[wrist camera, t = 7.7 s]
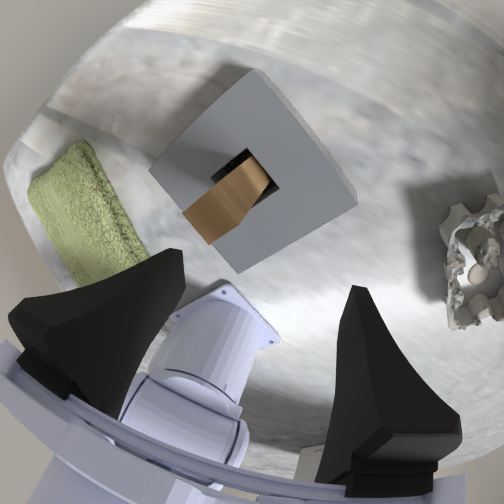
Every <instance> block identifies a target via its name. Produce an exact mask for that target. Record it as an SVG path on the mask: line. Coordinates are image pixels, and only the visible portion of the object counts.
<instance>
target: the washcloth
mask: <svg viewBox="0 0 504 504" xmlns="http://www.w3.org/2000/svg"><path fill="white" fill-rule="evenodd" d="M27 195H28V200H29V203H30V205H31V206H32V208H33V210H34V212H35V213H36V215H37V216H38V217H39V219H40V220H41V222H42V224H43V226H44V229H45V231H46V234H47V236H48V238H49V240H50V241H51V242H52V244H53V246H54V247H55V249H56V250H57V252H58V254H59V255H60V257H61V258H62V260H63V261H64V263H65V264H66V266H67V268H68V270H69V271H70V273H71V275H72V277H73V279H74V280H75V282H76V284H77V285H78V287H79V288H80V287H84V286H87V285H90V284H93V283H96V282H98V281H101V280H104V279H106V278H108V277H111V276H113V275H115V274H117V273H119V272H121V271H124V270H126V269H128V268H130V267H132V266H134V265H136V264H138V263H140V262H142V261H144V260H146V259H148V258H150V256H149V255H148V253H147V252H146V250H145V247H144V246H143V244H142V242H141V240H140V238H139V237H138V236H137V233H136V232H135V229H134V227H133V226H132V224H131V222H130V220H129V219H128V217H127V216H126V213H125V211H124V209H123V208H122V205H121V204H120V202H119V200H118V198H117V196H116V195H115V192H114V190H113V187H112V186H111V184H110V182H109V181H108V180H107V178H106V175H105V172H104V171H103V170H102V166H101V164H100V162H99V161H98V159H97V157H96V153H95V151H94V149H93V148H91V147H90V146H89V145H88V144H87V143H86V142H85V141H81V140H79V141H77V142H76V141H75V143H74V144H73V145H71V146H70V147H69V149H67V150H66V151H65V152H64V154H63V155H62V156H61V157H59V158H58V159H57V160H56V161H55V162H54V163H53V166H52V168H51V169H50V170H49V171H45V172H44V173H42V174H40V175H39V176H37V177H36V178H34V179H33V180H32V182H31V183H30V186H29V188H28V193H27Z"/></svg>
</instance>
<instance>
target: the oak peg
mask: <svg viewBox="0 0 504 504" xmlns="http://www.w3.org/2000/svg"><path fill="white" fill-rule="evenodd" d="M271 179H272V178H271V176H270V175H269V174H268V173H267V171H266V170H265V169H264V168H263V167H262V165H261V164H260V163H259V162H258V160H257V159H256V158H255V157H254V156H253V155H252V156H251V157H249V158H248V159H247V160H245V161H244V162H243V163H241V164H240V165H239V166H237V167H236V168H235V169H234V170H232V171H231V172H230V173H229V174H228V175H226V176H225V177H224V178H223V179H221V180H220V181H219V182H218V183H217V184H215V185H214V186H213V187H212V188H211V189H209V190H208V191H207V192H206V193H205V194H204V195H202V196H201V197H200V198H199V199H198V200H197V201H195V202H194V203H193V204H192V205H191V206H190V207H188V208H187V209H186V210H185V211H184V212H183V213H182V214H183V215H184V216H185V217H186V219H187V220H188V221H189V222H190V223H191V225H192V226H193V227H194V228H195V229H196V231H197V232H198V233H199V234H200V235H201V236H202V238H203V239H204V240H205V241H206V242H207V243H208V245H210V244H211V243H213V242H214V241H216V240H217V239H219V238H220V237H222V236H223V235H225V234H226V233H228V232H229V231H231V230H232V229H234V228H235V227H237V226H238V225H239V224H240V223H241V221H242V220H243V219H244V217H245V216H246V214H247V213H248V211H249V210H250V209H251V207H252V206H253V204H254V203H255V202H256V200H257V199H258V197H259V196H260V195H261V193H262V192H263V190H264V189H265V188H266V186H267V185H268V183H269V182H270V181H271Z"/></svg>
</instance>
